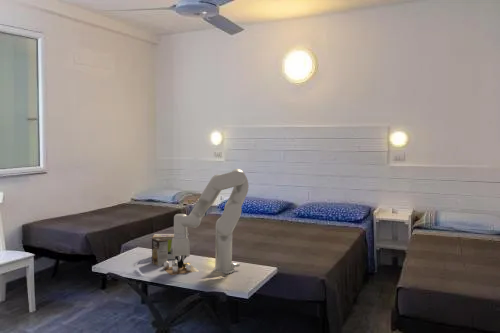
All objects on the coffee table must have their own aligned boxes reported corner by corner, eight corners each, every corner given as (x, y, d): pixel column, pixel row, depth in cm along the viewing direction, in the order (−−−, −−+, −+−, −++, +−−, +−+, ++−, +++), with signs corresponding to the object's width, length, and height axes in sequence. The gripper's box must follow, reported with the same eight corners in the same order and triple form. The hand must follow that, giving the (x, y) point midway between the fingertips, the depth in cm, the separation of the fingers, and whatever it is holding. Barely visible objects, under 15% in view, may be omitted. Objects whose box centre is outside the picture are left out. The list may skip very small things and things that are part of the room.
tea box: (177, 255, 279) (177, 233, 278) (175, 259, 268) (176, 236, 268) (154, 255, 277) (154, 233, 277) (151, 260, 267) (151, 236, 267)
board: (190, 266, 255) (190, 264, 255) (199, 273, 241) (199, 271, 241) (162, 269, 247) (162, 267, 247) (170, 277, 233) (170, 275, 233)
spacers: (183, 265, 252) (183, 258, 252) (191, 272, 240) (191, 264, 240) (162, 268, 246) (162, 261, 246) (170, 274, 234) (170, 267, 234)
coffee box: (151, 264, 257) (151, 238, 256) (161, 263, 261) (161, 237, 260) (158, 268, 250) (158, 241, 249) (168, 266, 254) (168, 239, 253)
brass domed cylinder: (189, 267, 249) (189, 262, 249) (191, 269, 245) (191, 264, 245) (182, 268, 247) (182, 263, 247) (184, 270, 243) (184, 265, 243)
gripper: (190, 233, 250) (190, 264, 251) (165, 235, 243) (165, 267, 244) (195, 235, 243) (195, 267, 244) (169, 238, 236) (169, 271, 237)
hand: (180, 267), depth 244 cm, fingers closed
